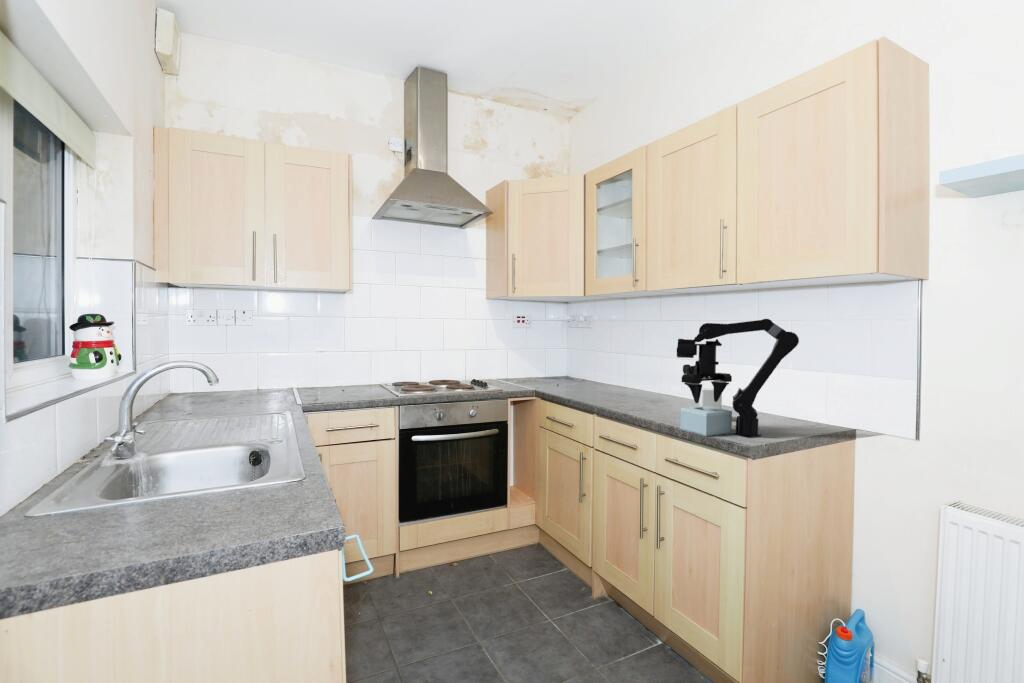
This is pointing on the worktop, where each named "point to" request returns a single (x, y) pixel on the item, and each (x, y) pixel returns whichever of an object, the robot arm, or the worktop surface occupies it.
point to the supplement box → (709, 398)
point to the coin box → (706, 420)
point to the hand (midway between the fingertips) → (706, 402)
